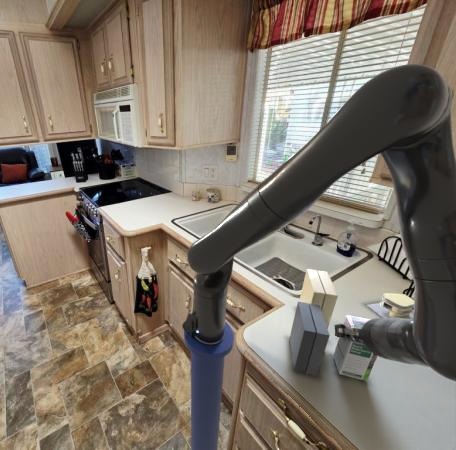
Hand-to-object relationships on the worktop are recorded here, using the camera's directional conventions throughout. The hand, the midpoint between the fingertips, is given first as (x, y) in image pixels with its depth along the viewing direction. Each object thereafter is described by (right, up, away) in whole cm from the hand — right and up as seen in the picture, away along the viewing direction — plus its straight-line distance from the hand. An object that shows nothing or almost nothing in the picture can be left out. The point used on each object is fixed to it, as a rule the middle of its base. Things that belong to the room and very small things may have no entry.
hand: (356, 335), depth 60 cm
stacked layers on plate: (+26, -1, +18) cm, 31 cm away
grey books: (-10, -8, +6) cm, 14 cm away
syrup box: (0, -9, +2) cm, 10 cm away
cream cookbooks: (-2, -3, +16) cm, 16 cm away
